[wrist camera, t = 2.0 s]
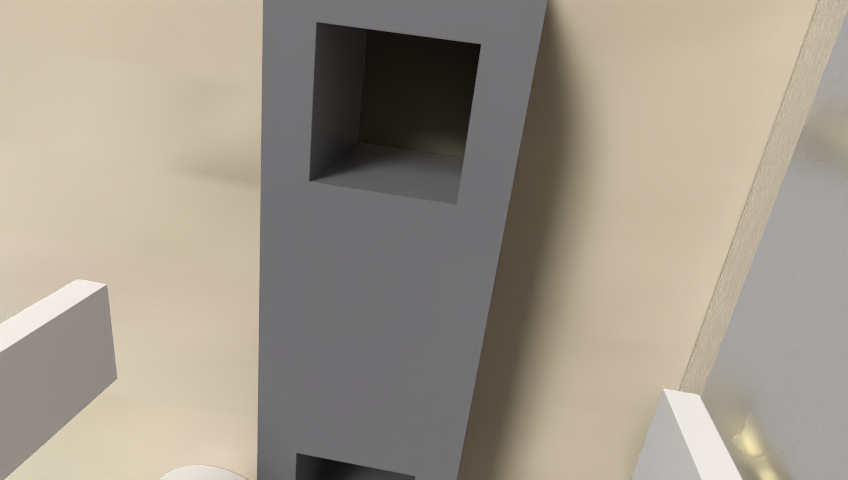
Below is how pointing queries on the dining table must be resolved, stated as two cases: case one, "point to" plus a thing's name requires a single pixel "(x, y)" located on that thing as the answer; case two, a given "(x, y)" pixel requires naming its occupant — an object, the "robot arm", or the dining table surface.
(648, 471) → the robot arm
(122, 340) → the dining table surface
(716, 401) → the grey plate brass knobs
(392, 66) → the dining table surface
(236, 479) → the cup
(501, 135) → the grey rectangular block
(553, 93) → the dining table surface
